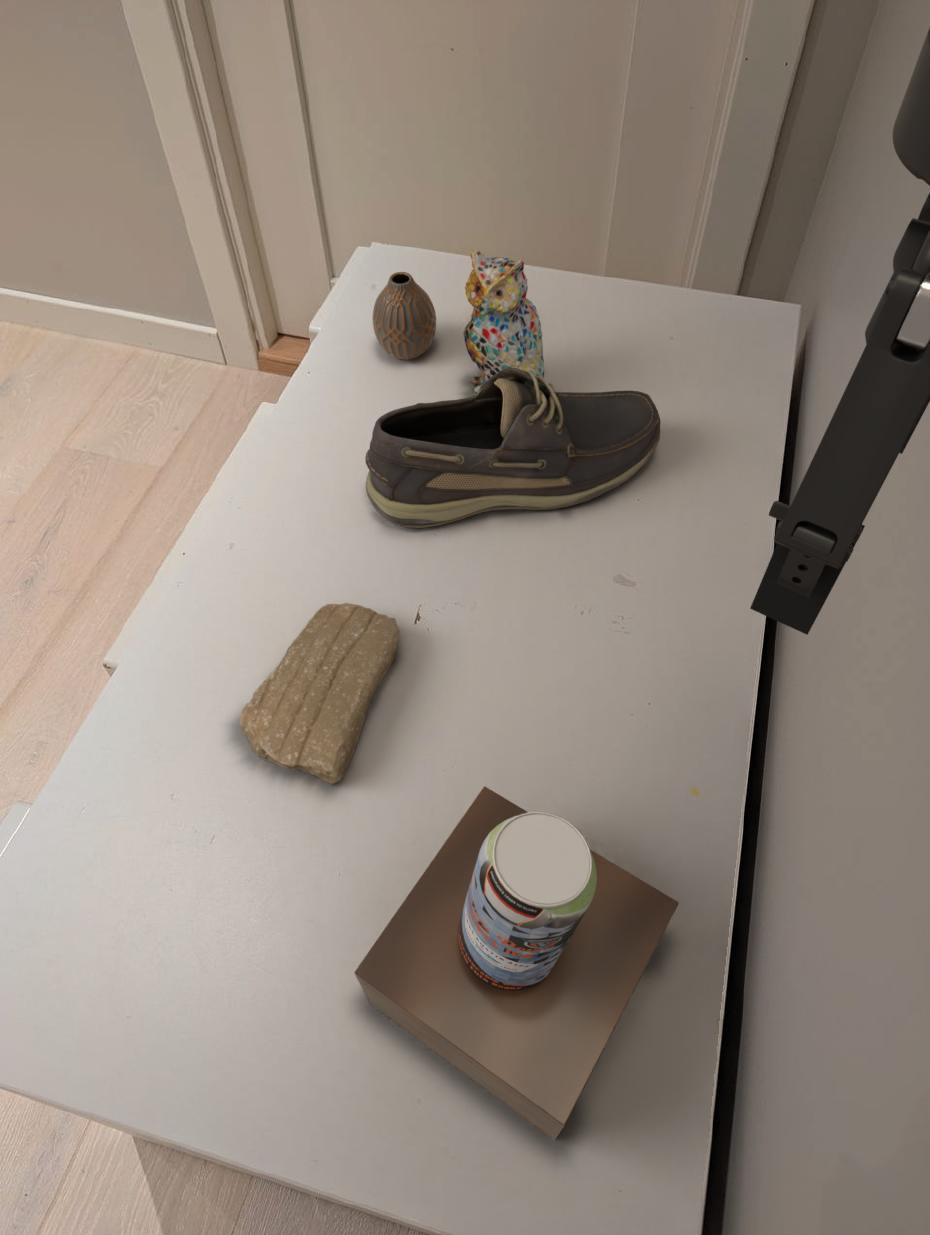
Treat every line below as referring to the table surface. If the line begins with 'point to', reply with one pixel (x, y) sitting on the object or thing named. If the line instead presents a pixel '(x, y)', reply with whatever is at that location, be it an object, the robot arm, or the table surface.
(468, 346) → the figurine
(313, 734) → the decorative stone
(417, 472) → the boat shoe
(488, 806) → the walnut shelf
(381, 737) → the table surface
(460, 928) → the beverage can
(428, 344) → the vase
